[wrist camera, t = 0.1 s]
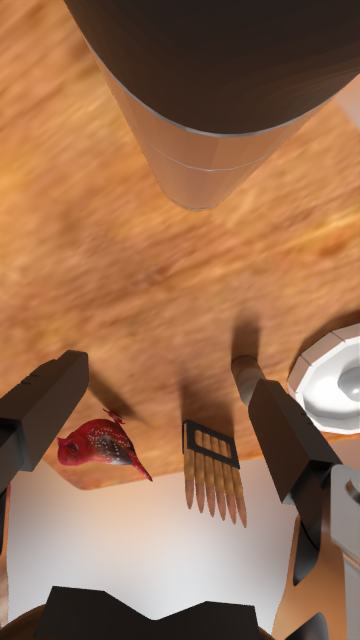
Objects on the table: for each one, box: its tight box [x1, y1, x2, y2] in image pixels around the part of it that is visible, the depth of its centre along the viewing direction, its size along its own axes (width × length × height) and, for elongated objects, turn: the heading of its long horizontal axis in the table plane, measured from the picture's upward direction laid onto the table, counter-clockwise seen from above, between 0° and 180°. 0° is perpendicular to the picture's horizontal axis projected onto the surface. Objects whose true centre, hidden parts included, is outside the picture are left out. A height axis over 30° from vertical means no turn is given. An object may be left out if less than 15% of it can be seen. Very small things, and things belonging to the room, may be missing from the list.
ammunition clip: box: [182, 420, 247, 528], centre depth 30 cm, size 11×2×12 cm, turn 60°
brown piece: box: [231, 355, 266, 406], centre depth 27 cm, size 4×4×6 cm
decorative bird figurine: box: [57, 409, 152, 481], centre depth 31 cm, size 3×18×10 cm, turn 42°
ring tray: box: [287, 323, 360, 434], centre depth 28 cm, size 19×19×2 cm
